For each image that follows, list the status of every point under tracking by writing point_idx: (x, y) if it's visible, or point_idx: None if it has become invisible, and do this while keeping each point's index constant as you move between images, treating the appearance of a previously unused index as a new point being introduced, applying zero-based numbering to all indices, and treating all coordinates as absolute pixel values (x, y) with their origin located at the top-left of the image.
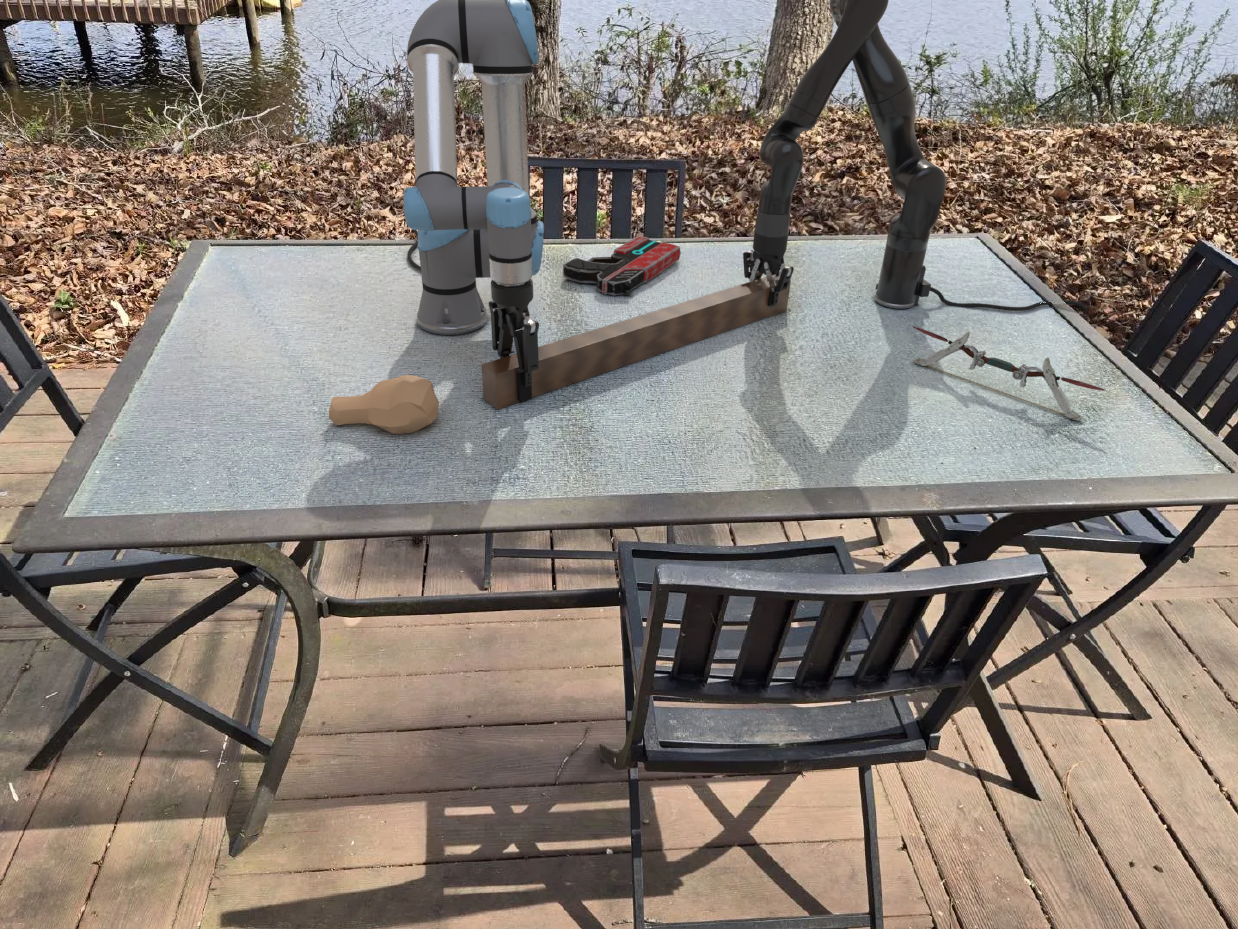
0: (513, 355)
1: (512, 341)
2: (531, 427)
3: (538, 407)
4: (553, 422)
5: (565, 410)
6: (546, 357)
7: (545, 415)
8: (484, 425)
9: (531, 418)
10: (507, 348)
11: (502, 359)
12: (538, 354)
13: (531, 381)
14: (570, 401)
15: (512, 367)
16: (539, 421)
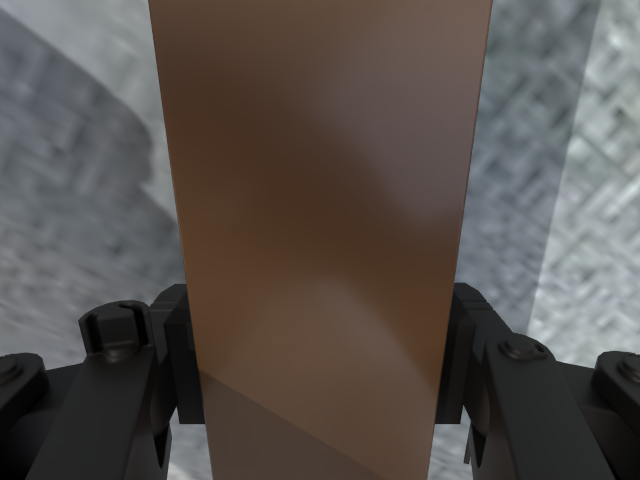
0: (214, 354)
1: (129, 475)
2: (585, 344)
3: (480, 233)
4: (634, 253)
5: (605, 140)
6: (463, 109)
7: (560, 248)
8: (439, 456)
9: (531, 308)
10: (153, 442)
11: (235, 450)
12: (338, 143)
13: (484, 301)
14: (559, 54)
15: (406, 457)
16: (577, 295)
